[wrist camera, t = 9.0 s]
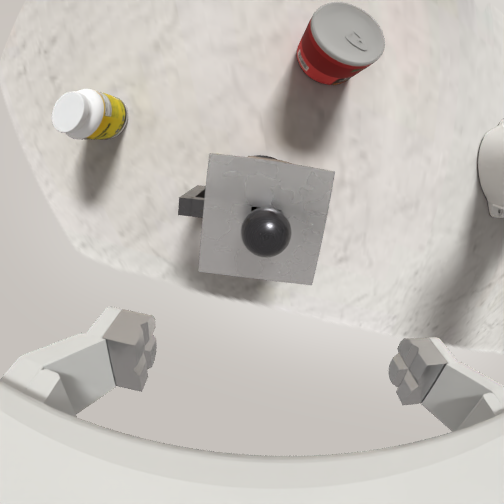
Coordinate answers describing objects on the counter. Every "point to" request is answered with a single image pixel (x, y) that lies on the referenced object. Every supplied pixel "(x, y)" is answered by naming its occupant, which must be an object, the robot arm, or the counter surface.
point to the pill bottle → (89, 115)
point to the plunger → (266, 231)
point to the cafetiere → (261, 195)
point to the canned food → (339, 43)
